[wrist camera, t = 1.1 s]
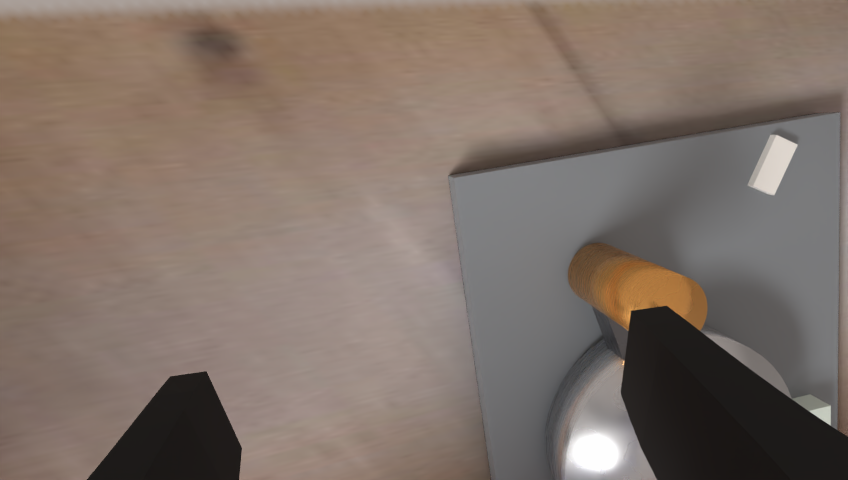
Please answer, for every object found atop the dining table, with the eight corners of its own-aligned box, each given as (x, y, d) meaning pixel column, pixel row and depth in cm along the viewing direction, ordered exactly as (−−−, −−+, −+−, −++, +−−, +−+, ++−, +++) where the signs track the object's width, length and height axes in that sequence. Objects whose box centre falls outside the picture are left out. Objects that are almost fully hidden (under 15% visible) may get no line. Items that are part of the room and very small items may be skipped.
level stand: (817, 469, 25) (865, 503, 23) (501, 551, 24) (519, 596, 21) (818, 113, 22) (873, 111, 20) (448, 175, 20) (462, 181, 18)
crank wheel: (780, 466, 23) (888, 547, 19) (589, 565, 23) (653, 673, 18) (695, 193, 20) (799, 211, 16) (474, 299, 20) (516, 349, 15)
